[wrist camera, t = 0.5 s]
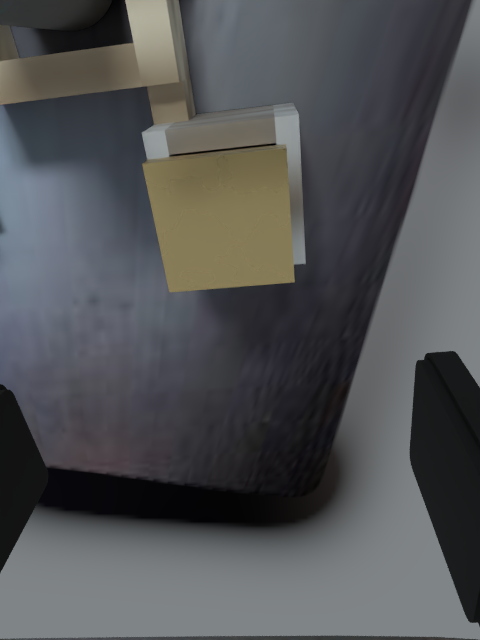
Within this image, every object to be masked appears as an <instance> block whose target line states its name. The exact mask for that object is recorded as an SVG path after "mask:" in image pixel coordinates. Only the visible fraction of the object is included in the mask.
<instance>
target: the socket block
mask: <svg viewBox="0 0 480 640" xmlns="http://www.w3.org/2000/svg"><path fill="white" fill-rule="evenodd" d="M125 2H126V7H127V12H128V17H129V22H130V27H131V32H132V37H133V42H134V43H128V44H121V45H114V46H106V47H99V48H92V49H85V50H77V51H70V52H63V53H55V54H48V55H41V56H34V57H26V58H19V54H18V51H17V48H16V45H15V41H14V38H13V35H12V32H11V28H10V26H7V25H0V105H3V104H11V103H18V102H26V101H34V100H42V99H50V98H58V97H66V96H74V95H81V94H89V93H97V92H105V91H113V90H121V89H129V88H136V87H144V86H147V91H148V96H149V101H150V106H151V111H152V117H153V122H154V125H153V126H151V127H150V128H148V129H147V130H145V131H144V132H142V137H143V142H144V146H145V151H146V156H147V159H156V158H165V157H174V156H180V154H181V153H189V152H198V151H207V150H216V149H225V148H234V147H243V146H252V145H261V144H270V143H276V145H282V144H286V147H287V162H288V179H289V196H290V212H291V229H292V246H293V262H294V265H295V264H306V260H305V238H304V216H303V194H302V173H301V151H300V129H299V114H298V112H297V110H296V108H295V106H294V104H293V103H285V104H277V105H269V106H260V107H252V108H243V109H235V110H227V111H218V112H210V113H202V114H196V113H195V106H194V99H193V93H192V86H191V79H190V72H189V66H188V59H187V52H186V46H185V39H184V32H183V26H182V19H181V12H180V5H179V0H125Z"/></svg>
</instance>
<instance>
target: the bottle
mask: <svg viewBox="0 0 480 640" xmlns="http://www.w3.org/2000/svg"><path fill="white" fill-rule="evenodd" d="M111 2H112V0H0V25H7V26H17V27H28V28H39V29H51V30H62V31H76V30H82V29H85V28H88V27H90V26H92V25H94V24H95V23H97V22H98V21H99V20H100V19H101V18H102V17H103V16H104V14H105V13H106V12H107V10H108V8H109V6H110V4H111Z"/></svg>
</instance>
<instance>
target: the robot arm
mask: <svg viewBox="0 0 480 640" xmlns="http://www.w3.org/2000/svg"><path fill="white" fill-rule="evenodd" d="M410 461H411V465H412V469H413V472H414V475H415V477H416V480H417V483H418V486H419V488H420V491H421V494H422V497H423V499H424V502H425V505H426V508H427V510H428V513H429V516H430V519H431V521H432V524H433V527H434V530H435V532H436V535H437V538H438V541H439V544H440V546H441V549H442V552H443V554H444V557H445V560H446V563H447V566H448V568H449V571H450V574H451V577H452V579H453V582H454V585H455V588H456V590H457V593H458V596H459V599H460V601H461V604H462V607H463V610H464V612H465V615H466V617H467V619H468V621H469V622H472V623H476V622H478V623H479V626H480V388H479V386H478V384H477V383H476V382H475V380H474V378H473V377H472V376H471V374H470V373H469V371H468V369H467V368H466V366H465V365H464V363H463V362H462V361H461V359H460V358H459V356H458V354H457V353H456V352H454V351H449V352H435V353H427V354H426V355H425V358H424V360H418V361H417V363H416V370H415V383H414V397H413V412H412V427H411V440H410ZM47 481H48V471H47V468H46V466H45V464H44V461H43V459H42V457H41V455H40V452H39V450H38V448H37V446H36V443H35V441H34V439H33V437H32V434H31V432H30V430H29V428H28V425H27V423H26V421H25V419H24V416H23V414H22V412H21V410H20V407H19V405H18V403H17V401H16V398H15V396H14V394H13V392H12V391H10V390H7V389H6V387H5V386H3V385H1V384H0V572H1V570H2V569H3V567H4V565H5V563H6V561H7V559H8V557H9V555H10V553H11V552H12V550H13V548H14V546H15V544H16V542H17V540H18V538H19V536H20V534H21V533H22V531H23V529H24V527H25V525H26V523H27V521H28V519H29V517H30V515H31V514H32V512H33V510H34V508H35V506H36V504H37V502H38V500H39V499H40V497H41V495H42V493H43V491H44V489H45V487H46V485H47ZM0 640H476V639H460V638H444V637H399V636H392V637H391V636H213V637H212V636H209V637H208V636H207V637H205V636H204V637H111V638H110V637H109V638H107V637H106V638H31V639H30V638H29V639H0Z"/></svg>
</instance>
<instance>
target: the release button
mask: <svg viewBox="0 0 480 640" xmlns="http://www.w3.org/2000/svg"><path fill="white" fill-rule="evenodd" d="M142 166H143V171H144V176H145V180H146V185H147V190H148V194H149V199H150V204H151V208H152V213H153V218H154V222H155V227H156V232H157V236H158V241H159V246H160V250H161V255H162V260H163V265H164V269H165V274H166V279H167V283H168V288H169V292H180V291H193V290H205V289H218V288H230V287H243V286H255V285H267V284H280V283H292V282H295V279H294V262H293V246H292V229H291V212H290V196H289V179H288V162H287V147H286V144H282V145H273V146H271V143H270V144H261V145H252V146H243V147H234V148H225V149H216V150H207V151H198V152H189V153H181V154H180V156H174V157H165V158H156V159H147V160H146V161H145V162H144V163H143V164H142Z"/></svg>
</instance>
